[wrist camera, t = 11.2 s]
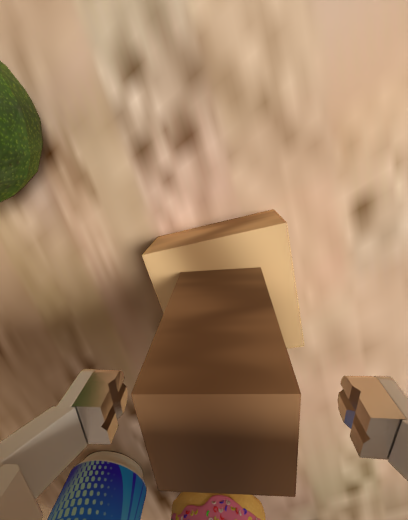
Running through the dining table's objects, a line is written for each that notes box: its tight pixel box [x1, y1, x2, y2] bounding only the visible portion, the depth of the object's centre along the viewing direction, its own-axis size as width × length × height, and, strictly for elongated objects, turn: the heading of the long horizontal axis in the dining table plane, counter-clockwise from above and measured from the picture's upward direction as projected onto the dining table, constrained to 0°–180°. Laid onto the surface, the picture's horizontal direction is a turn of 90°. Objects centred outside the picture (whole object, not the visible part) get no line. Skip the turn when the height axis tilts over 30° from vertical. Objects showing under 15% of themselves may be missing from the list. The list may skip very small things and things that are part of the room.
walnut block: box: [131, 267, 301, 497], centre depth 11 cm, size 4×4×8 cm
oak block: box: [142, 209, 304, 349], centre depth 17 cm, size 8×8×4 cm
